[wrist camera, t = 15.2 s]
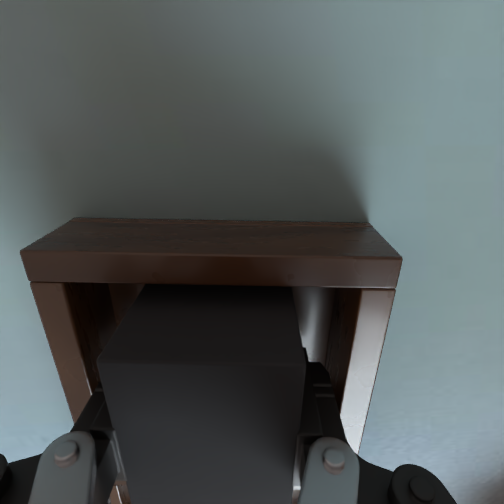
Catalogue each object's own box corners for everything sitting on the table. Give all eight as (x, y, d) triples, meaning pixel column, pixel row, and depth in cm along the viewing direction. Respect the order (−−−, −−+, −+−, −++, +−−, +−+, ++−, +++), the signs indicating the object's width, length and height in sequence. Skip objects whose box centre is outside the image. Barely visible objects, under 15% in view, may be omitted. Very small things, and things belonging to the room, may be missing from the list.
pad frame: (73, 217, 11) (17, 250, 9) (369, 222, 11) (404, 257, 9) (145, 528, 20) (127, 593, 17) (316, 532, 19) (325, 599, 17)
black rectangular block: (147, 278, 11) (94, 360, 7) (291, 280, 11) (307, 365, 7) (167, 417, 14) (135, 526, 10) (281, 420, 14) (289, 531, 10)
